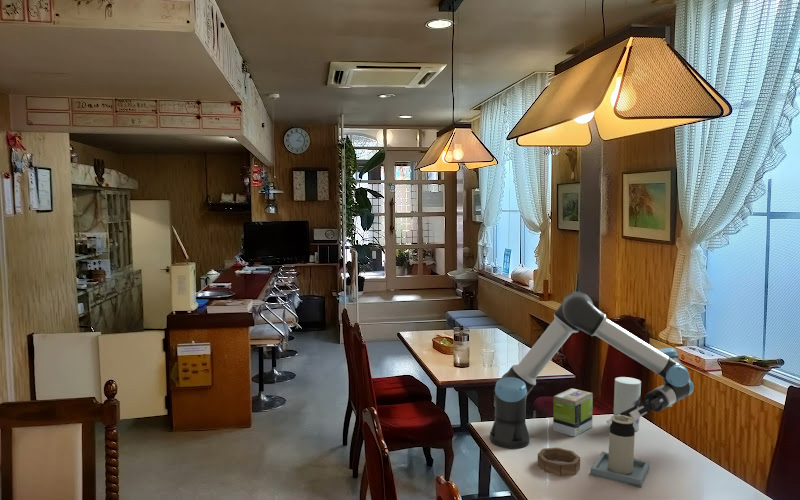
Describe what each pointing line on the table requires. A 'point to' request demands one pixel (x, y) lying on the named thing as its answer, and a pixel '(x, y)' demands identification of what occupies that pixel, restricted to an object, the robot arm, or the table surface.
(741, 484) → the table surface
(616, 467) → the travel mug
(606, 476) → the tray
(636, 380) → the container
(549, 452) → the mug holder
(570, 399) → the tea box
